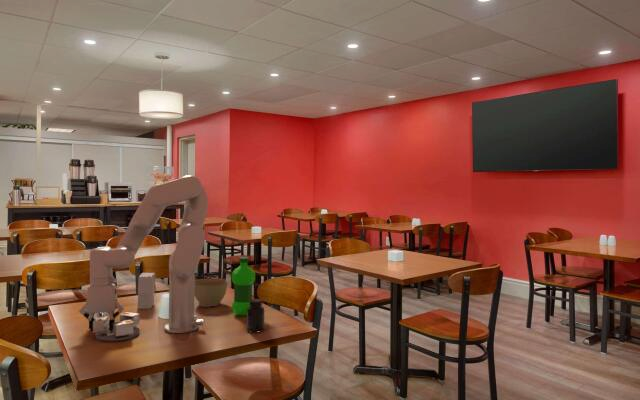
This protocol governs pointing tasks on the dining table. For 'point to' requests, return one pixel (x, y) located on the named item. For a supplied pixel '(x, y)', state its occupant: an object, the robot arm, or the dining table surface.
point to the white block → (100, 324)
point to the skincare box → (146, 290)
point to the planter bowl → (210, 291)
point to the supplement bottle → (255, 316)
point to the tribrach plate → (110, 337)
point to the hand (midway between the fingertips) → (102, 329)
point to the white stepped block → (130, 317)
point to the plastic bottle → (242, 286)
